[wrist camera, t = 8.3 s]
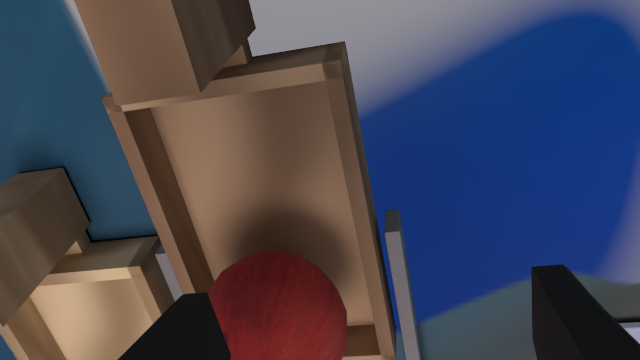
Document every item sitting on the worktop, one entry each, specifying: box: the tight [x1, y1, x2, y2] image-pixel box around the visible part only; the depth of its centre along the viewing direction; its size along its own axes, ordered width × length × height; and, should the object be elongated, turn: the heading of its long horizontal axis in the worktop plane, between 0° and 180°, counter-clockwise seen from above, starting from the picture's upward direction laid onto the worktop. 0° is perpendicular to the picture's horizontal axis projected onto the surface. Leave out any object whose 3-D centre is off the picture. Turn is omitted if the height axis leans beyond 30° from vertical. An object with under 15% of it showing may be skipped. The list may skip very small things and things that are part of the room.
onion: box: [208, 250, 347, 360], centre depth 21 cm, size 6×6×8 cm
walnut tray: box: [74, 0, 396, 360], centre depth 20 cm, size 9×18×6 cm, turn 11°
